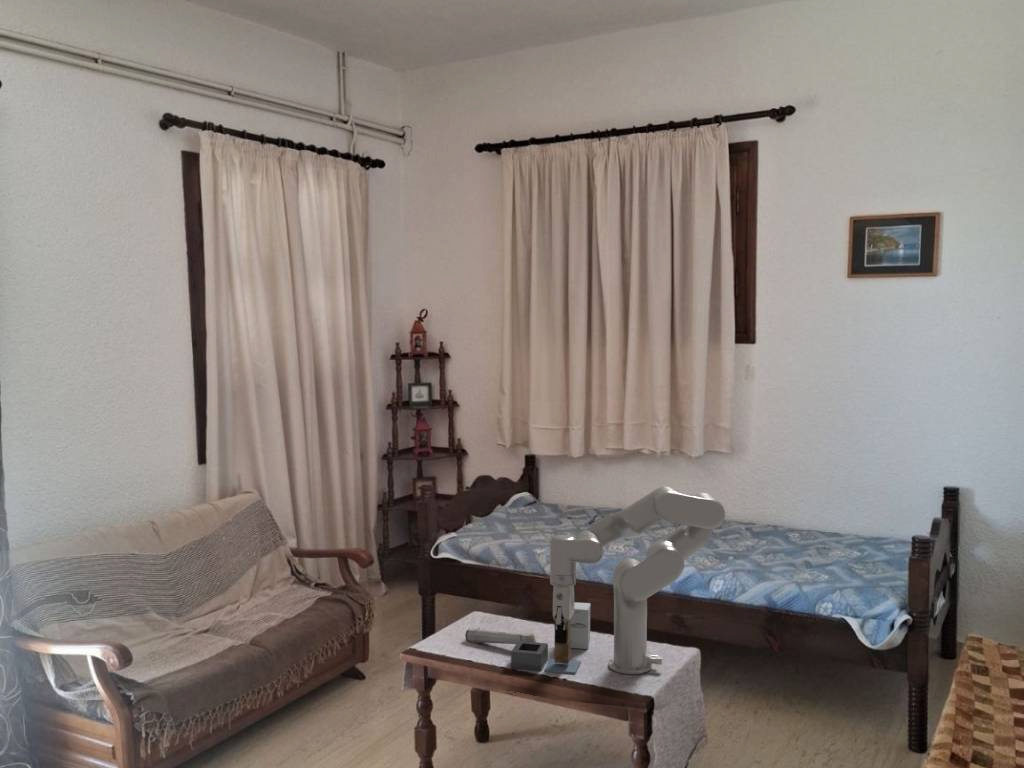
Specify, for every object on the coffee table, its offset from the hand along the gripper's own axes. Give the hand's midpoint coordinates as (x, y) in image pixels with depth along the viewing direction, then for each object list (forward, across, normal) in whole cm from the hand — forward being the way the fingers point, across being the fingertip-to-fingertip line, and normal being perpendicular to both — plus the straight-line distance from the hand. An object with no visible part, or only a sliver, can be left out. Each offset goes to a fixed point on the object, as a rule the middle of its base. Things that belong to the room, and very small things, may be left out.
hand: (562, 639), depth 255 cm
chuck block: (+8, 0, +10) cm, 13 cm away
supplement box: (+8, +19, -1) cm, 21 cm away
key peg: (+6, 0, 0) cm, 6 cm away
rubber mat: (+8, 0, 0) cm, 8 cm away
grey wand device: (+9, +11, +21) cm, 26 cm away
